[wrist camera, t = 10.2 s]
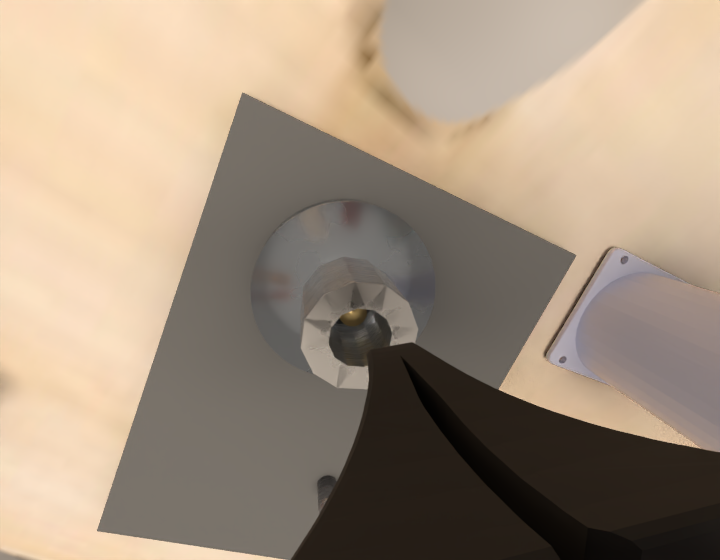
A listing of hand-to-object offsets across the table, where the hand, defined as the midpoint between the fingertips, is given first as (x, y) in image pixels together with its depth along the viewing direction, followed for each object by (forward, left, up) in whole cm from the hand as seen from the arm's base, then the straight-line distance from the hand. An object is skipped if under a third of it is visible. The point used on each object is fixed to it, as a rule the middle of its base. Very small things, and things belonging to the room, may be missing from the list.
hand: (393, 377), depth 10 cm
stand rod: (-4, +12, -10) cm, 16 cm away
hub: (0, 0, -10) cm, 10 cm away
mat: (-2, +6, -10) cm, 12 cm away
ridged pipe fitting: (0, +1, -8) cm, 8 cm away
